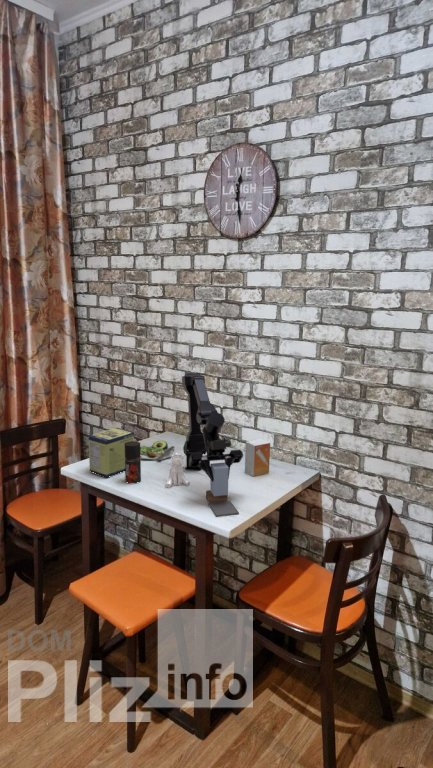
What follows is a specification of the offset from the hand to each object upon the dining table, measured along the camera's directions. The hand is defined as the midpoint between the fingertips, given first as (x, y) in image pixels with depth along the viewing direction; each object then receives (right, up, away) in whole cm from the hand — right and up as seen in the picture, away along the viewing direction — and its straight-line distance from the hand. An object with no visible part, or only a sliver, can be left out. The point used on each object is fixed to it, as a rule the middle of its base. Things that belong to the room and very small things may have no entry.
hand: (220, 480), depth 181 cm
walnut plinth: (-1, -8, +6) cm, 10 cm away
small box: (+15, -3, +32) cm, 36 cm away
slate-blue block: (0, -5, +2) cm, 5 cm away
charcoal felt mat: (+1, -10, -2) cm, 10 cm away
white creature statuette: (-17, -5, +20) cm, 27 cm away
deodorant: (-34, -4, +22) cm, 40 cm away
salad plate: (-29, +2, +53) cm, 60 cm away
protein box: (-44, -2, +33) cm, 55 cm away
